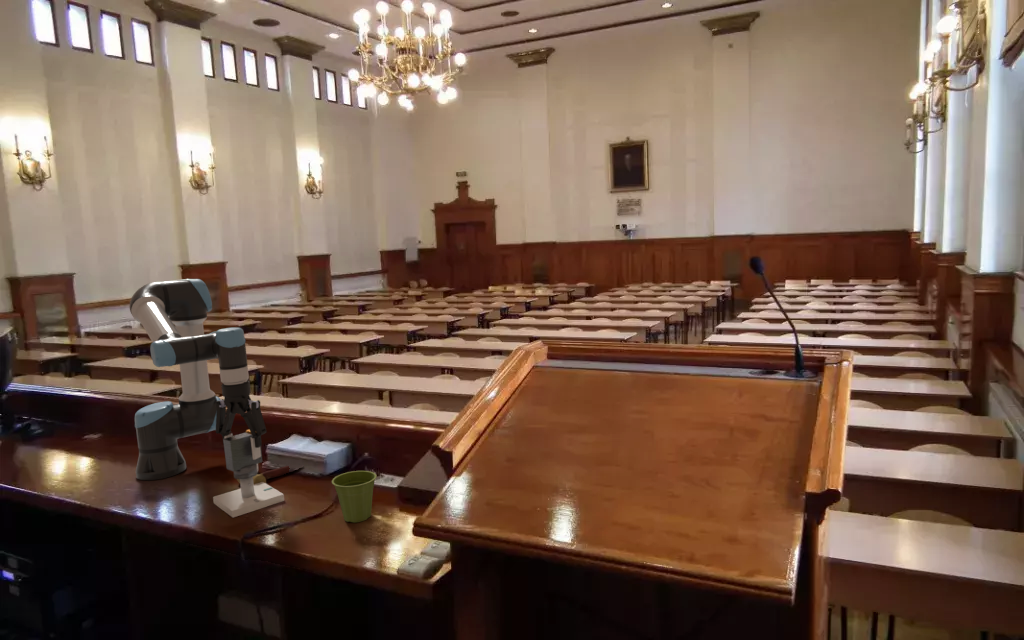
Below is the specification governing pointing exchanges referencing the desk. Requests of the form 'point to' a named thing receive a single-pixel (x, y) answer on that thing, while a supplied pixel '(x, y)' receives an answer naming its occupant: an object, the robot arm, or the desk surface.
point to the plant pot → (355, 494)
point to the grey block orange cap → (241, 456)
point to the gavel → (269, 474)
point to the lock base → (248, 498)
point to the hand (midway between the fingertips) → (243, 457)
